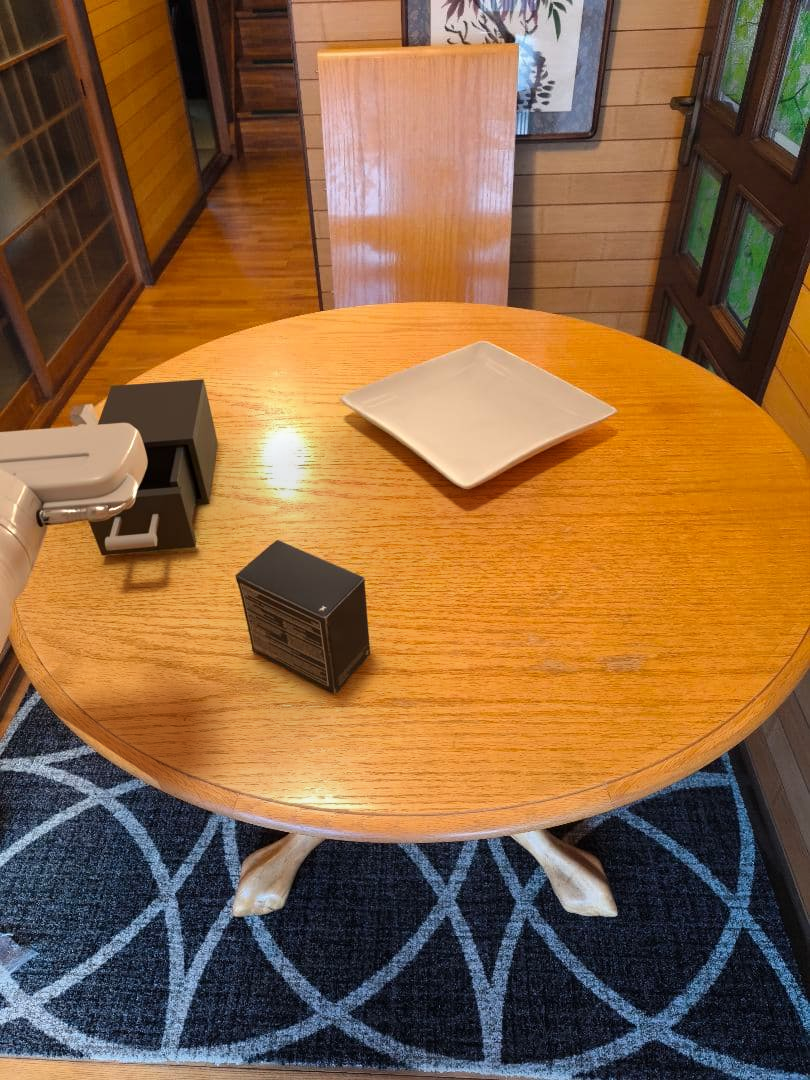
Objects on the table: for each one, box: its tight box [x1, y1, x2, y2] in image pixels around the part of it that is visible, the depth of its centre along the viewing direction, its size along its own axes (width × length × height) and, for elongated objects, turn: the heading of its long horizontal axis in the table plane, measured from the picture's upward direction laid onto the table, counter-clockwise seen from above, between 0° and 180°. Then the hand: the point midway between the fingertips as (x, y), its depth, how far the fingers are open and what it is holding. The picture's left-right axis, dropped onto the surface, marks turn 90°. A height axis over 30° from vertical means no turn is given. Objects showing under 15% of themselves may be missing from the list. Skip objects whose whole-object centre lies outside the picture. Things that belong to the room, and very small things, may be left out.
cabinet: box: [98, 378, 218, 506], centre depth 95 cm, size 14×12×10 cm
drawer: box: [88, 444, 198, 556], centre depth 86 cm, size 17×10×8 cm, turn 6°
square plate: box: [339, 340, 618, 490], centre depth 104 cm, size 27×27×4 cm
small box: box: [235, 539, 371, 695], centre depth 72 cm, size 11×6×10 cm, turn 58°
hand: (25, 416), depth 61 cm, fingers open, 8 cm apart
